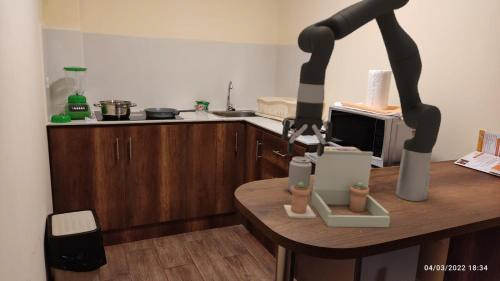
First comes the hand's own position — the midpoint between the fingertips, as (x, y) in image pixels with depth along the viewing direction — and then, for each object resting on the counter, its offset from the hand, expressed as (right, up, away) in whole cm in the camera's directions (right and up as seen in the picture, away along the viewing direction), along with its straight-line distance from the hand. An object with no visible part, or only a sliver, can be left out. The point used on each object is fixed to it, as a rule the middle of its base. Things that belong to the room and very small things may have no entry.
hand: (305, 155), depth 108 cm
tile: (-1, -17, +4) cm, 18 cm away
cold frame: (+14, -18, +5) cm, 23 cm away
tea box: (+16, -13, +29) cm, 35 cm away
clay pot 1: (-1, -17, +4) cm, 17 cm away
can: (+1, -14, +22) cm, 26 cm away
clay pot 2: (+18, -18, +9) cm, 27 cm away
